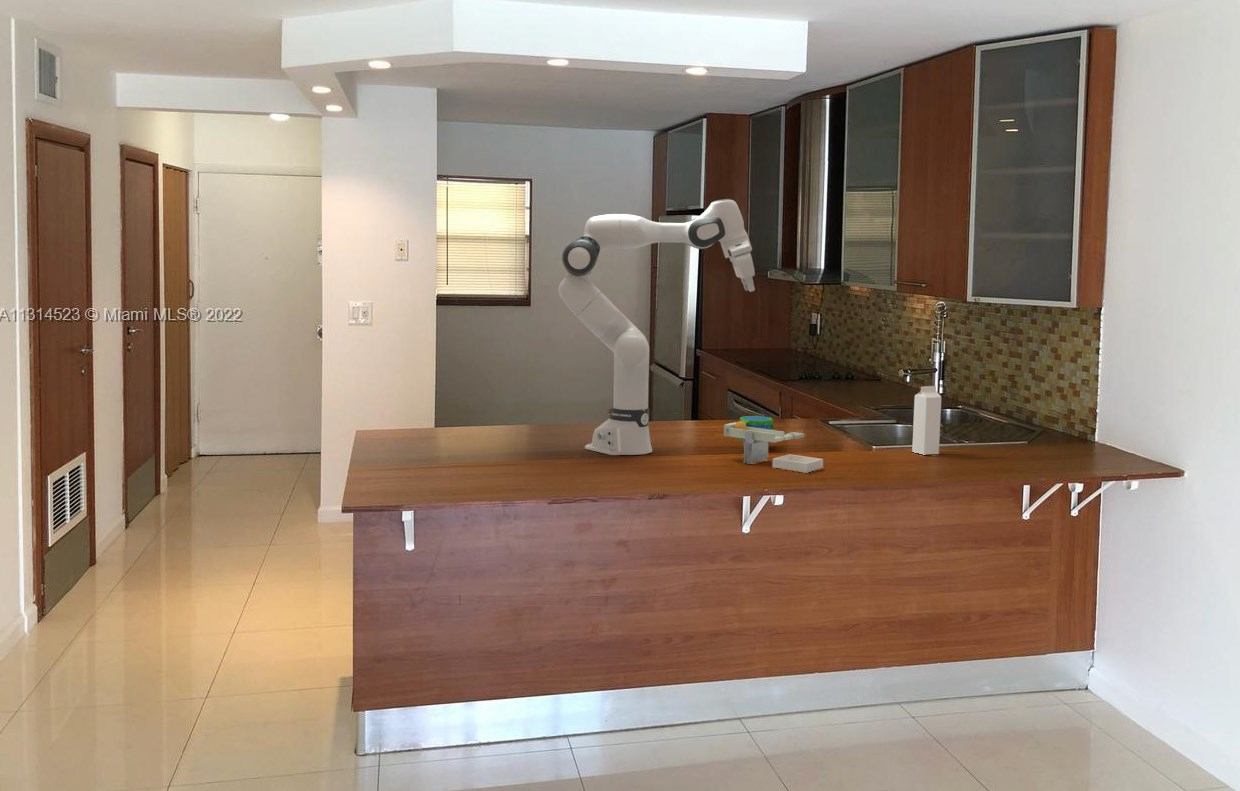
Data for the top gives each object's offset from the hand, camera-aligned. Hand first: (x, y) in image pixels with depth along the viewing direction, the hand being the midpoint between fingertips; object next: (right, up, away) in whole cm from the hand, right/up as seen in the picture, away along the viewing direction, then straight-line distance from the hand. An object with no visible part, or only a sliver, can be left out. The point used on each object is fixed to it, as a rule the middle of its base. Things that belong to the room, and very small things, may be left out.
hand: (750, 290), depth 347 cm
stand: (+1, -54, -10) cm, 54 cm away
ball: (-4, -43, -7) cm, 44 cm away
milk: (+57, -52, +7) cm, 78 cm away
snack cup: (+3, -51, +14) cm, 53 cm away
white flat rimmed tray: (+12, -55, -19) cm, 59 cm away
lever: (+4, -46, -7) cm, 46 cm away
